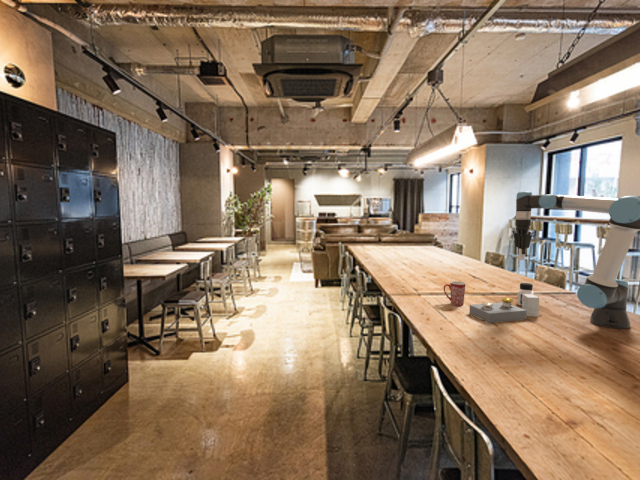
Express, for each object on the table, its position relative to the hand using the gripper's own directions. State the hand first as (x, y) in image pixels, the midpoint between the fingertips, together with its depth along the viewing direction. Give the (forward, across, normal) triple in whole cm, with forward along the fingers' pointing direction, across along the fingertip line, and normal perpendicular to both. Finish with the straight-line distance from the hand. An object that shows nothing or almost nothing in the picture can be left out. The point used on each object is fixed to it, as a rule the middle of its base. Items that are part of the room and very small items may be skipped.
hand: (521, 259), depth 194 cm
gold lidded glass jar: (+26, -10, +18) cm, 33 cm away
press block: (+29, -10, +24) cm, 39 cm away
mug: (+29, +18, +31) cm, 46 cm away
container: (+29, +5, -9) cm, 31 cm away
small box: (+29, -11, +4) cm, 31 cm away
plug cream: (+28, -10, +30) cm, 42 cm away
